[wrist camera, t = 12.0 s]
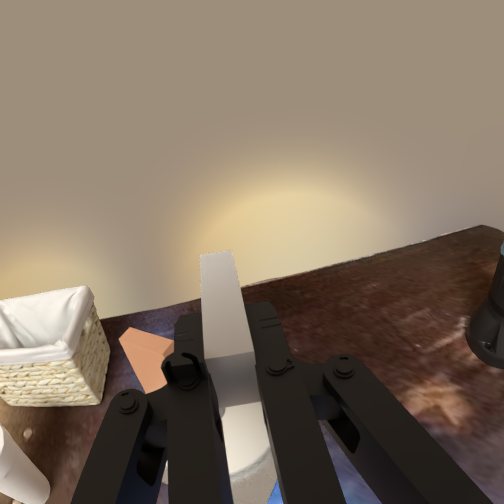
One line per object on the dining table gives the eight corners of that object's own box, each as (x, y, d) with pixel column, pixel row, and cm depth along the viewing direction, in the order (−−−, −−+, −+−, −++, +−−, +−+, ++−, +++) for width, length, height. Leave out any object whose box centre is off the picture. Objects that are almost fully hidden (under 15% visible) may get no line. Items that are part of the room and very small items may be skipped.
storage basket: (2, 410, 40) (-42, 353, 33) (25, 353, 55) (-7, 298, 47) (107, 411, 43) (65, 347, 36) (118, 344, 57) (91, 281, 50)
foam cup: (11, 513, 23) (-48, 471, 17) (13, 465, 31) (-37, 417, 25) (60, 516, 25) (0, 476, 19) (58, 463, 33) (8, 414, 27)
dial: (298, 382, 46) (298, 312, 39) (249, 500, 30) (231, 457, 23) (184, 354, 53) (163, 288, 46) (118, 444, 37) (72, 385, 30)
